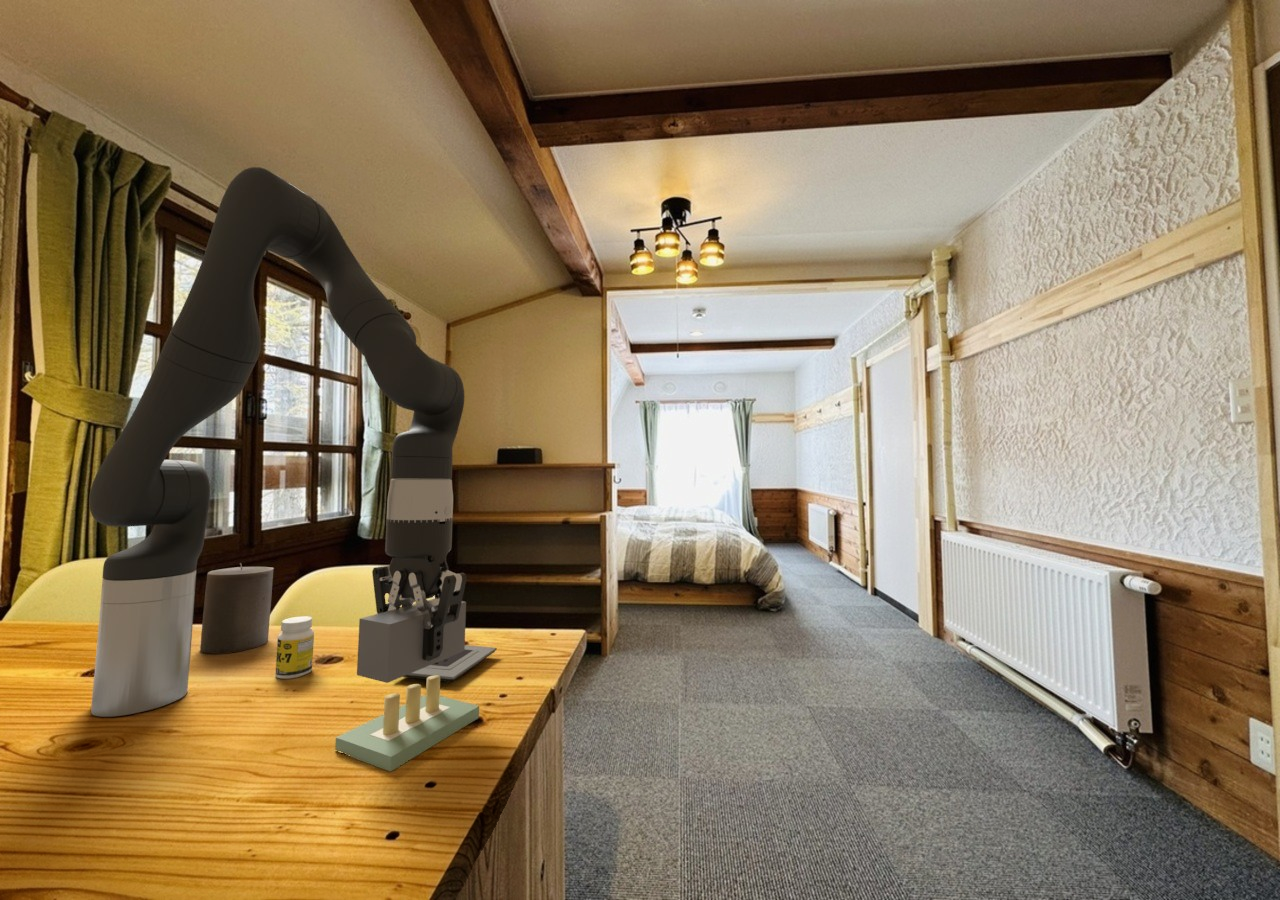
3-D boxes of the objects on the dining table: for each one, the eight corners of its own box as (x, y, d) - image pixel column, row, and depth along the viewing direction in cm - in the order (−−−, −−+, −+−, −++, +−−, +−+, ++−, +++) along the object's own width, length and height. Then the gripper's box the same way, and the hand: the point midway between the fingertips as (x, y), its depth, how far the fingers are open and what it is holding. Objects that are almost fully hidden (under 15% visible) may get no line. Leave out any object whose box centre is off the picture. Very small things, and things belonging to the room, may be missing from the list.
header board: (335, 751, 55) (337, 701, 55) (428, 704, 66) (429, 662, 67) (390, 771, 51) (392, 717, 51) (478, 717, 63) (480, 674, 63)
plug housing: (356, 675, 55) (359, 618, 56) (436, 645, 66) (438, 597, 66) (387, 682, 53) (389, 624, 54) (464, 650, 63) (466, 601, 64)
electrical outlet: (452, 691, 72) (453, 675, 72) (390, 685, 74) (391, 668, 74) (496, 660, 84) (496, 646, 85) (441, 655, 87) (442, 641, 87)
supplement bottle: (268, 676, 75) (271, 621, 76) (299, 666, 80) (302, 614, 80) (288, 681, 73) (291, 625, 74) (319, 670, 78) (321, 617, 78)
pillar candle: (211, 658, 83) (218, 569, 84) (192, 647, 88) (199, 563, 89) (277, 643, 91) (283, 562, 92) (256, 634, 96) (262, 557, 97)
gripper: (353, 515, 60) (346, 655, 59) (438, 519, 54) (433, 676, 53) (405, 512, 67) (400, 638, 66) (486, 515, 61) (481, 654, 60)
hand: (415, 654), depth 59 cm, fingers closed on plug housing, 5 cm apart
